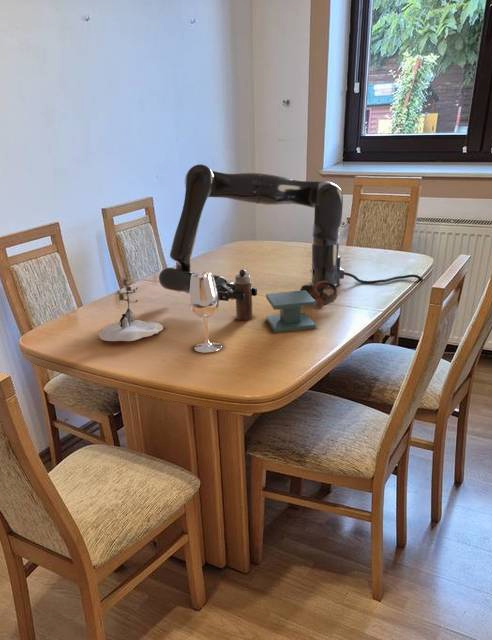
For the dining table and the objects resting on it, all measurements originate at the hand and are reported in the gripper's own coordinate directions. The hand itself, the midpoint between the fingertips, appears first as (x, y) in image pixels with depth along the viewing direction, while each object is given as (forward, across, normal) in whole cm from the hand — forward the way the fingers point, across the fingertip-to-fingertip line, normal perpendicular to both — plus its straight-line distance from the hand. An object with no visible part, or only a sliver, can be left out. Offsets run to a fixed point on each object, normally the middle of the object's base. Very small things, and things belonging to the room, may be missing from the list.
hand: (250, 294), depth 174 cm
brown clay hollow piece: (+9, +23, +8) cm, 26 cm away
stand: (+13, +3, +8) cm, 15 cm away
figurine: (-21, -30, +8) cm, 38 cm away
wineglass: (+5, -25, +8) cm, 27 cm away
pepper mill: (-3, 0, +8) cm, 8 cm away
